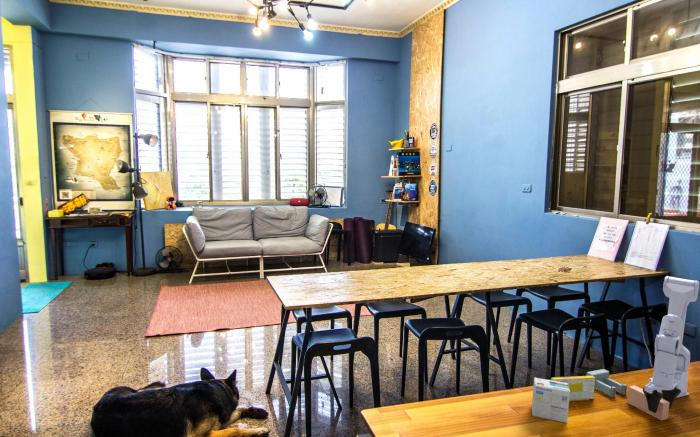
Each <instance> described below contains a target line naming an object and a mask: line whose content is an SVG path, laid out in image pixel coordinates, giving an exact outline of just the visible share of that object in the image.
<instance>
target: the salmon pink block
mask: <svg viewBox="0 0 700 437" xmlns="http://www.w3.org/2000/svg"><path fill="white" fill-rule="evenodd" d="M626 403H627V404H629V405H631V406H632V407H635V408H636V409H638V410H641V411H643V412H645V413H646V414H649V415H650V416H652V417H654V418H656V419H658V420H660V421H665V420H668V418H669V410H670V409H669V403H670V402H668V401H666V400H664V399H661V400H660V402H659V405H658V409H657V412H656V413H653V412H651V411H649V409H648V404H647V399H646V396H645V394H644V392H643V388H641V387H639V386H637V385H630V386H628V387H627V398H626Z"/></svg>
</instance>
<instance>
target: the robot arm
mask: <svg viewBox="0 0 700 437" xmlns="http://www.w3.org/2000/svg"><path fill="white" fill-rule="evenodd" d="M663 280H664V281H663V284H662V286H663V287H662V291H663V293H664V296H665V297H667V298H669V300H668V308H667V310H668V311H667V315H664V316H663V317H662V319H661V324H660V328H659V332H658V334H656V337H655V340H654V356H655V358H654V365H653V373H652V377H650V378H649V380H648V381H649V383H648V384H645V385H644V387H643V388H642V389H643V392H644V394H645V396H646V399H647V404H648V409H649V411H651V412H653V413H656V412H657V409H658V405H659V402H660V400H661V399H664V400H666V401H668V402H670V403H669V410H671V408H672V407H673V405H674V403H675V400H676V399H677V398H680V397H685V396H690V393H689V392H687V390H688V383H689V382H688V381H689V374H688V372H689V368H690V363H691V362H690V361H691V351H690V350H689V349H688V348H687V347H686V346H684V345H683V339H684V333H685V325H686V317H687V308H688V306H689V304H690V303H693V302H696V301H697V299H698V295H699V288H700V282H699V281H698V280H692V279H686V278H679V277H674V276H669V275H666V276H665V277H664V279H663ZM659 393H660V394H659Z"/></svg>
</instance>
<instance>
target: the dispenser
mask: <svg viewBox="0 0 700 437" xmlns="http://www.w3.org/2000/svg"><path fill="white" fill-rule="evenodd" d="M586 376H594V377H595V388H597V389H598V390H597V389H596V390H597V391H599V390H600V391H599V392H601V391H602V392H601V393H603V392H604V393H603V394H605V393H606V394H605V395H607V394H608V395H607V396H609V395H610V396H611V398H612V397H614V398H616V394H617V393H618V392H619V394H620V393H621V394H620V395H623V396H626V395H627V392H628V385H627V384H625V383H623V384H622V383H620V382H618V381H616V380H614V379H611V378H610V371H609V370H606V369H605V368H602V369H601V368H600V369H597V370H593V371H592V370H591V371H587V372H586ZM616 391H617V393H616ZM610 396H609V397H610Z"/></svg>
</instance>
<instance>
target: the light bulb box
mask: <svg viewBox="0 0 700 437" xmlns="http://www.w3.org/2000/svg"><path fill="white" fill-rule="evenodd" d="M532 388H533V389H532V400H531V401H532V403H531V412H532V413H531V414H532V415H531V416H532V417H536V418H542V419H546V420H553V421H556V422H562V423H566V424H567V423H568V419H569V418H568V417H569V406H570V401H569V397H570V390H569V387H568V383H565V382H558V381H552V380H551V379H546V378H538V377H536V376H535V377H533V387H532Z"/></svg>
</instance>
